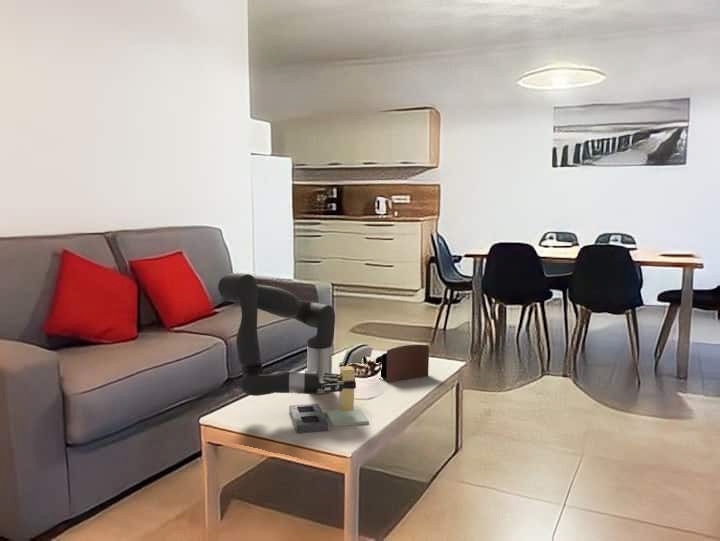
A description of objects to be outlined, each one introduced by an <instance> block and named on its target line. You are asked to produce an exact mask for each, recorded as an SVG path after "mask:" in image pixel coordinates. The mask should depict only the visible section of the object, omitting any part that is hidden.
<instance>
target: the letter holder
mask: <svg viewBox="0 0 720 541" xmlns="http://www.w3.org/2000/svg"><path fill="white" fill-rule="evenodd" d="M429 360H430V347H429V346H428V345H427V344H407V345H406V344H405V345H400V346H397V347H396V346H395V347H392V348H390V349H388V350H387V351H386V353H382V354H381V355H380V356H377V357H376V358H375V364H376V363H379V362H382V369H381V377H382V378H383V380H384V381H383V380H382V381H383V382H385V381H386V382H385V383H392V382H398V381H405V380H412V379H413V380H414V379H420V378H425V377H426V378H427V377H429V366H430V365H429Z"/></svg>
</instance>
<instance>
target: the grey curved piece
mask: <svg viewBox="0 0 720 541" xmlns="http://www.w3.org/2000/svg"><path fill="white" fill-rule="evenodd" d="M372 352H373V347H372V346H370V345H369V344H367V343H364V342H363V343H358V344H355V345H354V346H352V347H350V348H348V349H347V351H346V353H345V355H344V358H343V360H342V361H340V362H339V363H338V367H339V366H340V367H342V366H346V365H348V364H350V363H361V362H362V358H363V356H366V357H370V358H371V356H372ZM361 364H362V363H361ZM341 365H342V366H341Z"/></svg>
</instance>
